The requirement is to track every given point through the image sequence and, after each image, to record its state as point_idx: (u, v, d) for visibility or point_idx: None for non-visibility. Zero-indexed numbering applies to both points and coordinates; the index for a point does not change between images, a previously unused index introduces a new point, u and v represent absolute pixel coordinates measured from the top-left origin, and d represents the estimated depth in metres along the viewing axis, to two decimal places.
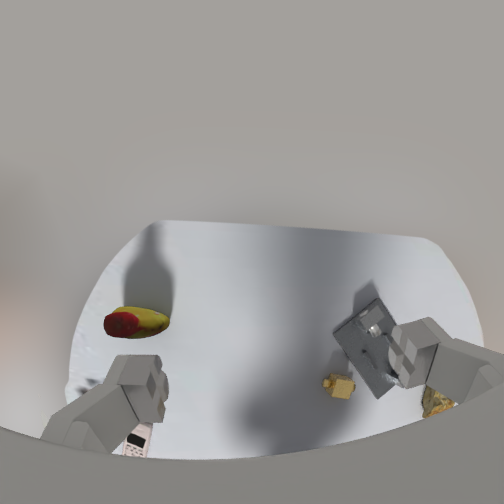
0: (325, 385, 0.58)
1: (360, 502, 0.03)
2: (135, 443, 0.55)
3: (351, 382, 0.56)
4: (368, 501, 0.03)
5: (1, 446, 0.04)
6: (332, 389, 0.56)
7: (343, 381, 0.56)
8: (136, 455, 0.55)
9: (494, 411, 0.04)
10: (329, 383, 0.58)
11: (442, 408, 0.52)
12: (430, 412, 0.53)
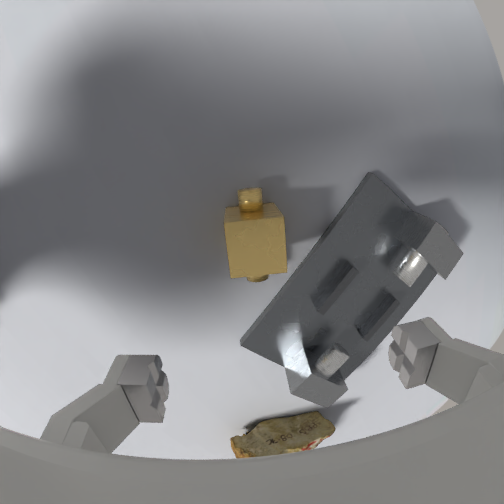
0: (245, 196, 0.22)
1: (360, 502, 0.03)
2: None
3: (283, 263, 0.21)
4: (368, 501, 0.03)
5: (1, 446, 0.04)
6: (245, 219, 0.20)
7: (280, 238, 0.21)
8: None
9: (494, 411, 0.04)
10: (255, 204, 0.22)
11: None
12: None
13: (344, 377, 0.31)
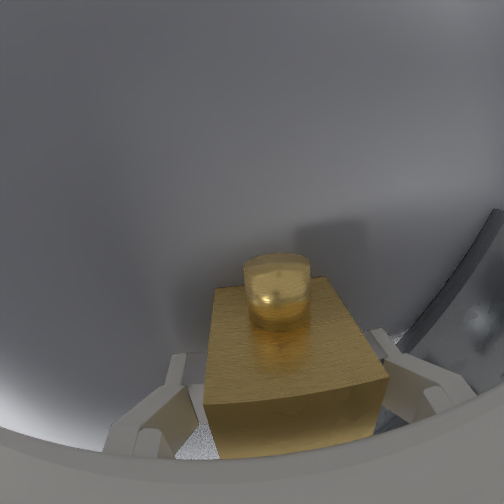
0: (267, 290, 0.07)
1: (360, 502, 0.03)
2: None
3: None
4: (368, 501, 0.03)
5: (1, 446, 0.04)
6: (270, 382, 0.06)
7: (366, 421, 0.06)
8: None
9: (494, 411, 0.04)
10: (295, 311, 0.08)
11: None
12: None
13: None
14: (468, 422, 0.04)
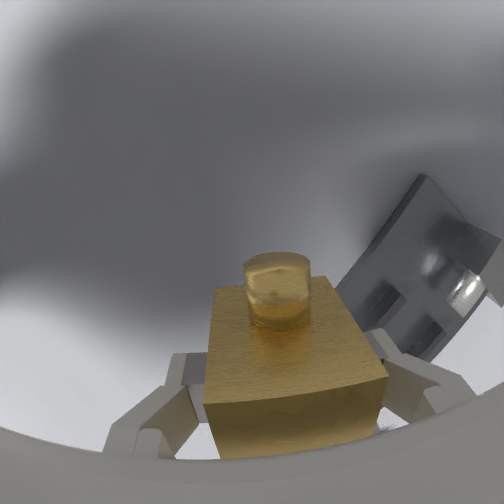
0: (267, 290, 0.07)
1: (360, 502, 0.03)
2: None
3: None
4: (368, 501, 0.03)
5: (1, 446, 0.04)
6: (271, 381, 0.06)
7: (366, 420, 0.06)
8: None
9: (494, 411, 0.04)
10: (295, 310, 0.08)
11: None
12: None
13: None
14: (468, 422, 0.04)
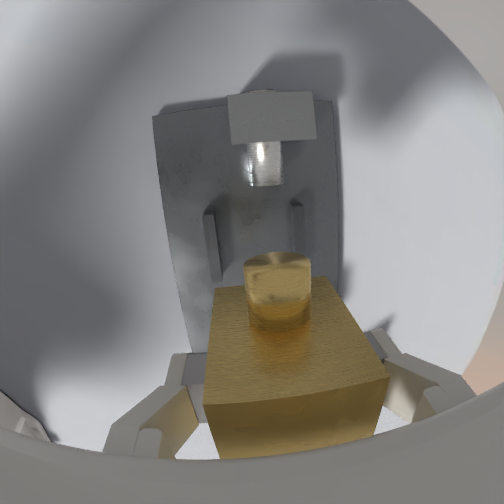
0: (267, 290, 0.07)
1: (360, 502, 0.03)
2: None
3: None
4: (368, 501, 0.03)
5: (1, 446, 0.04)
6: (270, 382, 0.06)
7: (367, 421, 0.06)
8: None
9: (494, 411, 0.04)
10: (294, 311, 0.08)
11: None
12: None
13: None
14: (468, 422, 0.04)
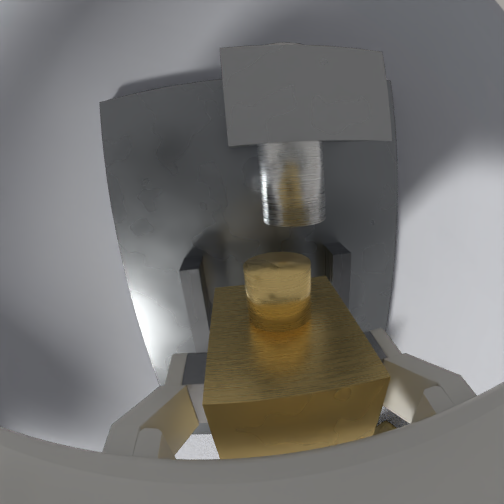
0: (267, 290, 0.07)
1: (360, 502, 0.03)
2: None
3: None
4: (368, 501, 0.03)
5: (1, 446, 0.04)
6: (270, 382, 0.06)
7: (367, 421, 0.06)
8: None
9: (494, 411, 0.04)
10: (295, 311, 0.08)
11: None
12: None
13: None
14: (468, 422, 0.04)
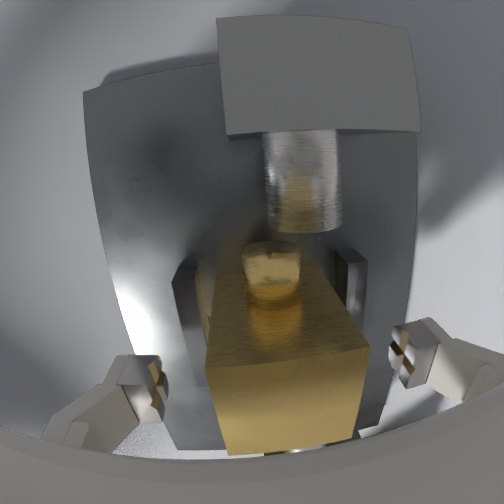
0: (262, 271, 0.09)
1: (360, 502, 0.03)
2: None
3: (346, 428, 0.08)
4: (368, 501, 0.03)
5: (1, 446, 0.04)
6: (264, 350, 0.07)
7: (352, 391, 0.07)
8: None
9: (494, 411, 0.04)
10: (287, 290, 0.09)
11: None
12: None
13: (379, 407, 0.15)
14: (468, 422, 0.04)
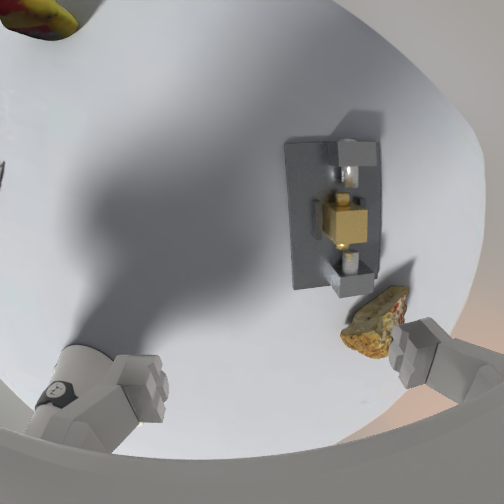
0: (342, 196, 0.35)
1: (360, 502, 0.03)
2: None
3: (365, 236, 0.35)
4: (368, 501, 0.03)
5: (1, 446, 0.04)
6: (346, 210, 0.34)
7: (365, 222, 0.34)
8: None
9: (494, 411, 0.04)
10: (347, 202, 0.36)
11: (377, 344, 0.39)
12: (360, 335, 0.40)
13: (376, 266, 0.42)
14: (468, 422, 0.04)
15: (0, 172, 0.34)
